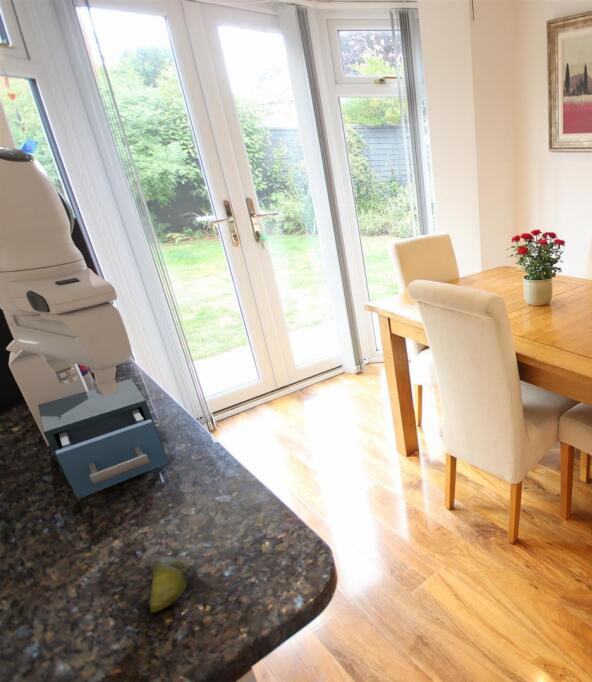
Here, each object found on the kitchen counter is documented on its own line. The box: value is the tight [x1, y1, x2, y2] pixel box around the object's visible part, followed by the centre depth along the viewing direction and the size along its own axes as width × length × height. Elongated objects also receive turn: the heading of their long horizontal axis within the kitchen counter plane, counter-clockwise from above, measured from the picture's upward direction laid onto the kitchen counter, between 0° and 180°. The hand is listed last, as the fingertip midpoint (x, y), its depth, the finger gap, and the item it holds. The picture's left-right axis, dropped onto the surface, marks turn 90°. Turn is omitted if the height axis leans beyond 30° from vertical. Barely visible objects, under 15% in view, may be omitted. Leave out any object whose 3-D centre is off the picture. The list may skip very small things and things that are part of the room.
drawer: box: [55, 408, 169, 500], centre depth 66 cm, size 15×10×7 cm
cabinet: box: [38, 378, 165, 486], centre depth 72 cm, size 12×12×9 cm
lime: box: [149, 556, 188, 614], centre depth 48 cm, size 4×5×5 cm
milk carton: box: [5, 339, 88, 447], centre depth 77 cm, size 7×7×19 cm
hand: (88, 387), depth 62 cm, fingers open, 8 cm apart
